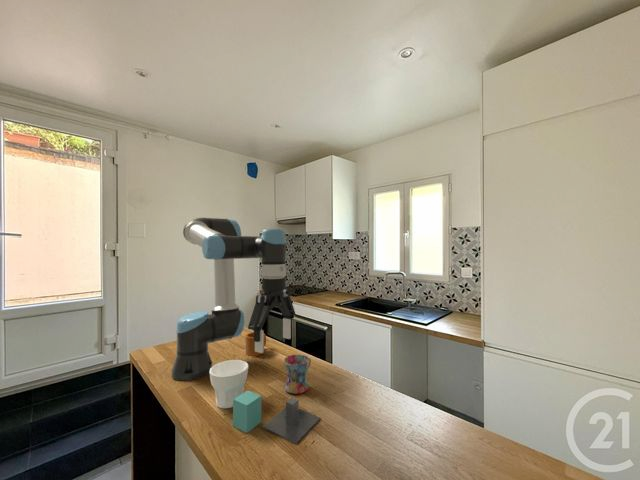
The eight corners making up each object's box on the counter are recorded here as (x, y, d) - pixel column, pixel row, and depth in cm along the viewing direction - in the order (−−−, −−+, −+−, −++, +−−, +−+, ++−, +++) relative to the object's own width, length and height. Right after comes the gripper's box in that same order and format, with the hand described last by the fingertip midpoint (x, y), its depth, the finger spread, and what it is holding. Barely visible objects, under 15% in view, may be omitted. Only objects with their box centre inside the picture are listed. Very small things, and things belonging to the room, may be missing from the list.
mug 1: (273, 351, 132) (273, 332, 132) (252, 358, 123) (252, 339, 123) (262, 346, 138) (262, 328, 138) (241, 353, 129) (241, 334, 129)
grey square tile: (262, 428, 76) (262, 404, 76) (288, 406, 86) (288, 386, 86) (296, 444, 69) (296, 419, 69) (320, 419, 79) (320, 397, 80)
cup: (210, 417, 81) (211, 380, 81) (207, 396, 92) (207, 364, 92) (252, 405, 86) (252, 371, 87) (244, 387, 97) (244, 357, 98)
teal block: (233, 426, 76) (233, 399, 77) (247, 415, 81) (247, 390, 81) (246, 433, 73) (246, 405, 74) (261, 421, 78) (261, 395, 78)
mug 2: (296, 399, 90) (296, 367, 90) (278, 390, 96) (278, 360, 96) (319, 385, 99) (319, 356, 99) (301, 377, 105) (301, 350, 105)
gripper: (255, 282, 72) (255, 361, 72) (304, 274, 94) (305, 335, 93) (235, 281, 76) (235, 356, 75) (287, 273, 98) (287, 331, 97)
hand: (273, 344), depth 84 cm, fingers open, 13 cm apart
